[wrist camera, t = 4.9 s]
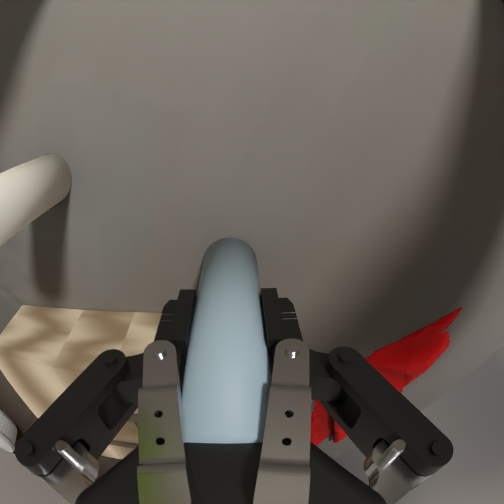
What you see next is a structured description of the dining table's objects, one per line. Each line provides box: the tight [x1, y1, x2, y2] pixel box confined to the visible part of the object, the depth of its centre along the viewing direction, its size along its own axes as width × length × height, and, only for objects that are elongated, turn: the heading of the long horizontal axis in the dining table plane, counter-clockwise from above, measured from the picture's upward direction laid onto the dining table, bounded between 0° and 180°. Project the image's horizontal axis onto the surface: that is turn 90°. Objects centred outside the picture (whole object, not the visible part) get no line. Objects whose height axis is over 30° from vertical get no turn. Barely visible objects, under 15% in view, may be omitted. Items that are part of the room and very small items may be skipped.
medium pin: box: [0, 154, 72, 246], centre depth 11 cm, size 3×3×8 cm
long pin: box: [182, 238, 272, 443], centre depth 13 cm, size 3×3×12 cm
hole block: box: [0, 305, 162, 459], centre depth 20 cm, size 18×14×6 cm
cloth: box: [310, 308, 462, 446], centre depth 26 cm, size 26×14×2 cm, turn 139°
